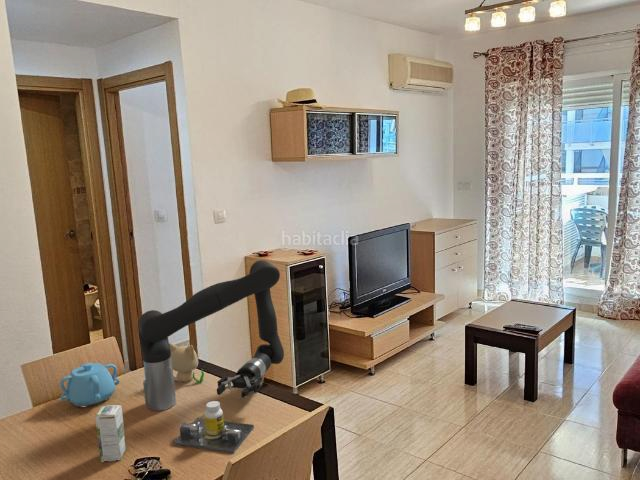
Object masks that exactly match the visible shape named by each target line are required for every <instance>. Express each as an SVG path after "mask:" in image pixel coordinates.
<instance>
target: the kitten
mask: <svg viewBox="0 0 640 480" xmlns="http://www.w3.org/2000/svg"><path fill="white" fill-rule="evenodd" d="M169 345H170V349H171V359H172V368H173V371H175V372H177V373H176V376H174V375H173V377H174V382H182V383H186V382H190V381H192V380H194V381H195V382H196V384H202V383H203V382H204V376H205V372H204V370H203V369H200V371H201V376H200V378H199V379H198V378H196V377H195V371H194V370H196V369H197V367H198V365H199V358H198V354H197V352H196V351H195V349H194V346H193V345H192V344H190V345H180V346H177V345H175V344H174V343H170V342H169Z"/></svg>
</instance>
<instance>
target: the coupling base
mask: <svg viewBox="0 0 640 480" xmlns="http://www.w3.org/2000/svg"><path fill="white" fill-rule="evenodd" d="M223 422H224V426H223V428H222V432H221V434H222V436H221V437H218V438H209V437H207V435H206V426H205V418H202V417H201V418H200V417H196V419H195V420H193V422H192V423H191V422H190V423H189V422H181V424H180V426H179V435H178V436H177V437H176V438H175V439H174V440H173V441H172V444H173V446H179V447H187V448H194V449H201V450H208V451H215V452H219V453H220V452H222V453H227V454H235V452H236V451H237V450H238V449H239V448H240V446H241V445H242V444H243V443H244V442H245V440H246V439H247V438H248V436H250V434H251V432H252V431H253V430H254V428H255V425H254V424H252V423H251V424H250V423H241V422H234V421H225V420H223Z"/></svg>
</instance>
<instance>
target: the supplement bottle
mask: <svg viewBox="0 0 640 480" xmlns="http://www.w3.org/2000/svg"><path fill="white" fill-rule="evenodd" d="M205 407H206V410H205V412H204V419H205V426H206V435H207V437H209V438H218V437H221V436H222V434H221V432H222V428H223V426H224V422H223V421H224V412H223V410H222V408H221V404H220V402H219V401H217V400H212V401H209V402H207V403H206V406H205Z"/></svg>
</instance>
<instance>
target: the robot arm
mask: <svg viewBox="0 0 640 480" xmlns="http://www.w3.org/2000/svg"><path fill="white" fill-rule="evenodd" d="M280 273H281V272H280V270H279V269H278V268H277V266H276V265H274V264H273V263H270V262H268V261H266V260H263V259H261V260H260V259H259V260H257V261H254V263H252V265H251V266H250V269H249V273H248V274H247V275H245V276H241V277H239V278H237V279H232V280H226V281H222V282H217V283H214V284H212V285H210V286H207V287H205V288H203V289H201V290H199V291H198V292H196V293H194V294H193V295H192V296H190V297H189V298H188V299H186V300H185V302H183V303H182V304H181V305H179V306H177V307H175V308H173V309H171V310H168V311H165V312H163V313H162V312H161V311H159V310H148V311H146V312H144V313H143V314H142V315H141V316H140V317H139V320H138V324H137V325H138V326H137V327H138V334H139V335H138V336H139V343H140V351H141V354H142V362H143V369H144V380H143V382H142V384H143V392H144V400H145V407H146V408H149V410H150V411H155V412H156V411H158V412H159V411H165V410H169V409H170V408H172V407H174V406H175V405H176V404H177V398H176V388H175V381H174V377H175V376H174V370H173V368H172V359H171V349H170V345H169V343H170V342H169V337H170V336H172V335H173V334H175V333H177V332H178V331H180V330H181V329H183V328H185V327H187V326H190V325H191V324H193V323H196V322H198V321H201V320H202V319H205V318H206V317H209V316H211V315H213V314H215V313H218V312H220V311H221V310H223V309H226V308H227V307H230V306H232V305H233V304H235V303H238V302H239V301H242V300H244V299H245V298H247V297H250V296H252V295H254V300H255V305H256V314H257V323H258V324H257V326H258V335H259V338H260V340H261V341H264V342H266V343H264V344H260V345H258V346H257V348H256V351H255V353H254V356H253V357H251V359H249V360H247V362H245V363H244V364H243V365H242V366H241V367H239V369H238V370H237V371H236V374H235V375H234V376H231V377H230V375H229V374H225V375H224V376H222V377H221V378H220V379H219V380H218V381H217V388H216V394H217V395H218V396H221V395H222V394H223V393H224V392H225V391H227V390H230V391H231V390H234V389H236V388H237V389H242V390H241V391H240V397H241V399H244V398H245V397H247V396H248V395H250V394H252V393H254V394H255V393H258V392H259V391H260V390H261V388H262V387H263V378H262V377H264V375H265V373H266V372H267V371H268V370H269V369H270V368H271V365H272V364H274V365H278V364H279V365H280V364H281V363H282V362H283V360H284V357H285V351H284V347H283V345H282V342H281V339H280V336H279V333H278V332H279V331H278V320H277V314H276V311H275V310H276V309H275V307H274V306H275V305H274V304H273V300H272V293H271V288H272V287H274V286H276V285H277V283H278V282H279V280H280V277H281V274H280ZM267 343H268V344H267ZM173 376H174V377H173ZM226 385H227V386H226Z"/></svg>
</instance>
